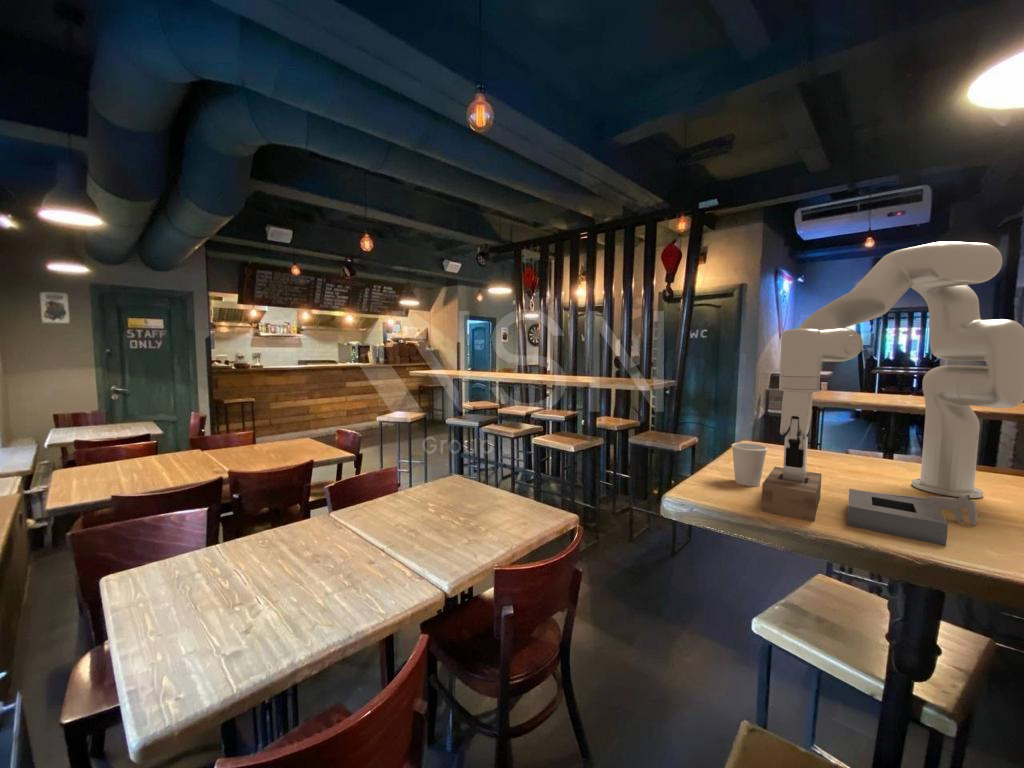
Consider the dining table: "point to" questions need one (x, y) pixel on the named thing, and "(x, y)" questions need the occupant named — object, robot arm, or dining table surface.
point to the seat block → (897, 516)
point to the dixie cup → (748, 463)
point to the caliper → (950, 505)
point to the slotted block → (791, 495)
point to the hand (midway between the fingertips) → (795, 463)
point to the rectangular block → (794, 472)
